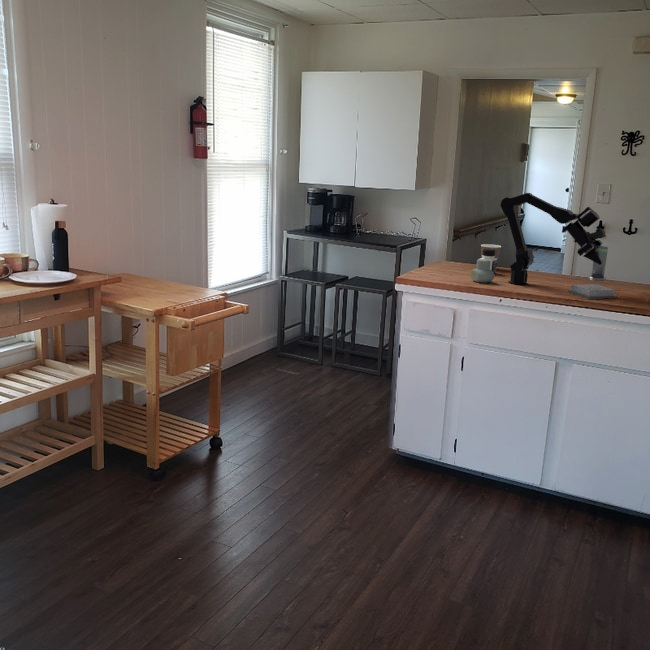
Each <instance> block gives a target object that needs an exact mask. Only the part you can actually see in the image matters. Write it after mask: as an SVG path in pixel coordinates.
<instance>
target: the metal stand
mask: <svg viewBox="0 0 650 650" xmlns="http://www.w3.org/2000/svg"><path fill="white" fill-rule="evenodd" d="M615 291H616V289H615V288H614V289H613V288H610V287H608V286H607V287H606V286H603V285H599V284H590V283H589V284H587V283H586V284H571V289H568V290H567V293H568V292H569V293H568V294H571V293H572V294H571V295H574V294H575V295H574V296H577V295H578V297H580V296H581V298H583V297H584V299H587V298H588V299H587V300H604V298H616V299H618V295H615ZM602 298H603V299H602Z"/></svg>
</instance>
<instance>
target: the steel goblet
mask: <svg viewBox="0 0 650 650" xmlns="http://www.w3.org/2000/svg"><path fill="white" fill-rule="evenodd" d="M595 247H596V253H597V255H598V256H599V258H600V260H601V262H602V264H601V265H599V264H598V263H596V262H594V261H592V267H591V268H592V269H591V274H590V275H588V277H587V278H588V279H587V280H589V281H595V282H596V281H597V282H606V281H607V277H605V272H606V264H607V258H608V252H609V246H605V245H602V246H595Z"/></svg>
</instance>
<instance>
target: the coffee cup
mask: <svg viewBox="0 0 650 650" xmlns="http://www.w3.org/2000/svg"><path fill="white" fill-rule="evenodd" d="M480 246H481V247H480V251H481V253H480V255H481V256H480V258H483V257H482V251H483V249H485V248H489V249H494V250H495V259H497V264H498V263H499V262H498V261H499V259H500V253H501V250H502V249H501V248H502V246H501V245H499V244H491V243H490V244H487V243H485V244H484V243H483V244H480Z"/></svg>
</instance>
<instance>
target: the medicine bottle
mask: <svg viewBox="0 0 650 650" xmlns="http://www.w3.org/2000/svg"><path fill="white" fill-rule="evenodd" d="M482 257H483V258H481V257H480V258H479V259H487V260H490V270H491V271H493V273H495V274H496V273H497V266H498V263H497V259H495V250H494V249H489V248H485V249H483V251H482Z"/></svg>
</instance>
